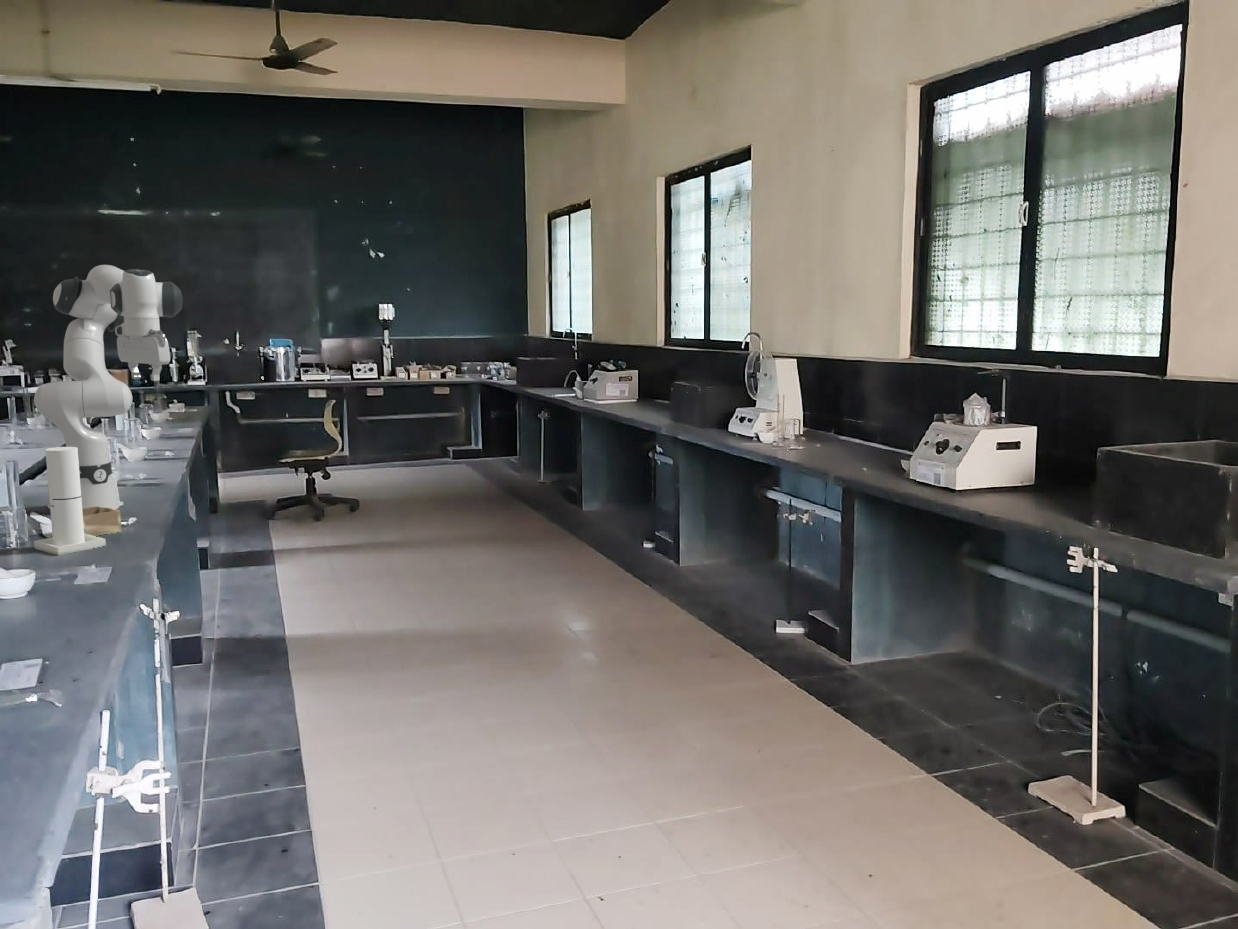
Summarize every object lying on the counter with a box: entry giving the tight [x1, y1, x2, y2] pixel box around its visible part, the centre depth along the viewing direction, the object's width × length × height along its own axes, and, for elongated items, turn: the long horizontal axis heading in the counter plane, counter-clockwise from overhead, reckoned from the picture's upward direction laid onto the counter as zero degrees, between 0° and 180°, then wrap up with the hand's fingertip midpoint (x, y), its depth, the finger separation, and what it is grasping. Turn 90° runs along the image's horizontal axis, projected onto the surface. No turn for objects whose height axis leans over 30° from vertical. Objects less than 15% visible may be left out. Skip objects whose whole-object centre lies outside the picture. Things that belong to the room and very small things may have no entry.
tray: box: [33, 533, 107, 556], centre depth 260 cm, size 12×12×2 cm
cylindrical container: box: [45, 446, 85, 547], centre depth 258 cm, size 7×7×25 cm
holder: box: [82, 506, 123, 537], centre depth 276 cm, size 11×11×6 cm
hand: (145, 379), depth 281 cm, fingers open, 8 cm apart
